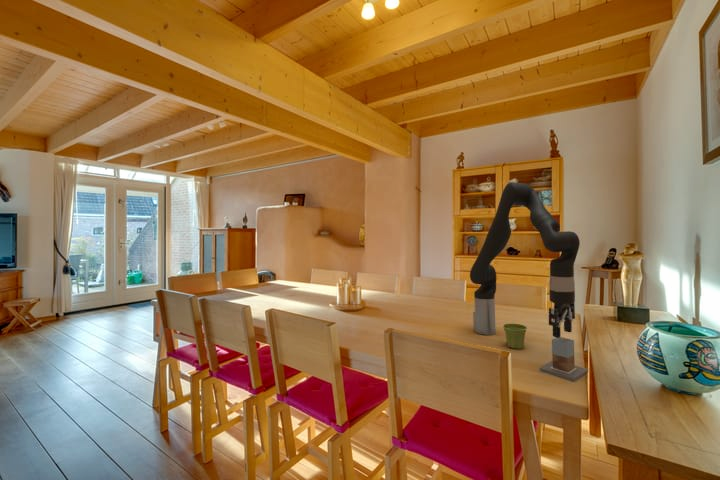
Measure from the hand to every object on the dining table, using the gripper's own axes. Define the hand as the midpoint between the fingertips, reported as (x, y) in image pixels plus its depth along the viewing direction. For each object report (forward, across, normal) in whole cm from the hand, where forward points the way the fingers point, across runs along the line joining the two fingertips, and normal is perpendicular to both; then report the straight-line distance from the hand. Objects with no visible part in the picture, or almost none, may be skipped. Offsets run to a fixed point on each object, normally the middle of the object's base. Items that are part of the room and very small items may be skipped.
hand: (562, 334), depth 112 cm
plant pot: (+14, -9, -23) cm, 28 cm away
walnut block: (+12, 0, 0) cm, 12 cm away
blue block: (+7, 0, 0) cm, 7 cm away
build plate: (+13, 0, 0) cm, 13 cm away
